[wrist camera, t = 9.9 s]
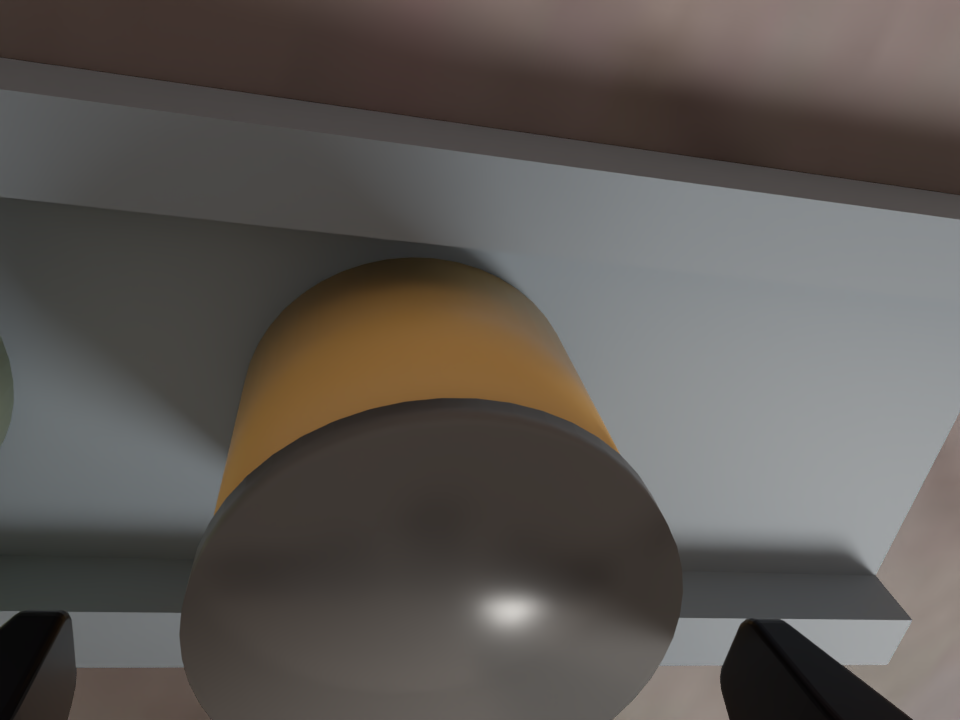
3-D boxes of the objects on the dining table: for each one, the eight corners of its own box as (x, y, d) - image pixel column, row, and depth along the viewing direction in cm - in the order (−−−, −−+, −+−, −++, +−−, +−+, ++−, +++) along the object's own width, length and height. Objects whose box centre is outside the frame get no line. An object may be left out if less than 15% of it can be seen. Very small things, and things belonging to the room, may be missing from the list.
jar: (611, 271, 12) (747, 443, 8) (541, 547, 14) (616, 786, 10) (240, 230, 11) (177, 406, 7) (231, 537, 13) (180, 801, 9)
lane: (1031, 205, 13) (1373, 339, 9) (837, 597, 17) (1006, 824, 13) (-1030, -90, 8) (-2722, -123, 4) (-624, 573, 12) (-1189, 944, 7)
